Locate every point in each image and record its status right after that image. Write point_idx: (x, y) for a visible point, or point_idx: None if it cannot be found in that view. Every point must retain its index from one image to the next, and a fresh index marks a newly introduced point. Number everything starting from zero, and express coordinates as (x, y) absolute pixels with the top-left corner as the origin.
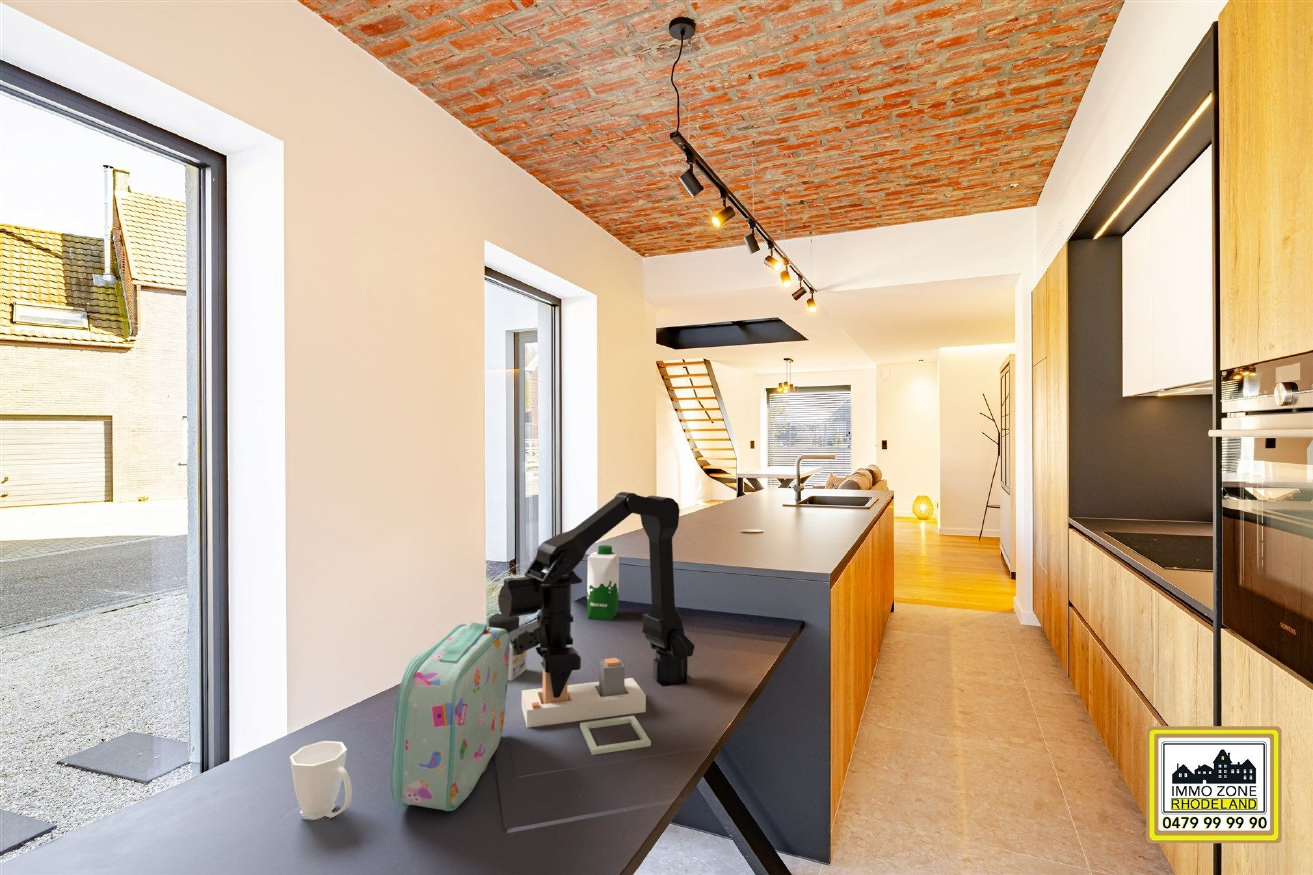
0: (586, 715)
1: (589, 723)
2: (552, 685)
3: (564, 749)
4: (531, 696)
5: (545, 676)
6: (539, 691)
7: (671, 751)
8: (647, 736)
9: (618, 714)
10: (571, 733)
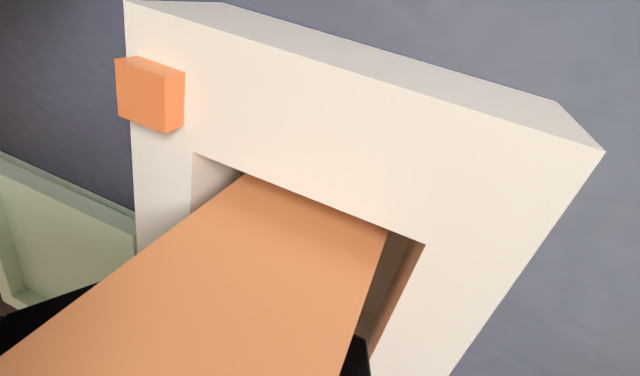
0: None
1: (121, 257)
2: (52, 299)
3: (29, 89)
4: (373, 160)
5: (39, 356)
6: (434, 265)
7: (13, 307)
8: None
9: None
10: None
